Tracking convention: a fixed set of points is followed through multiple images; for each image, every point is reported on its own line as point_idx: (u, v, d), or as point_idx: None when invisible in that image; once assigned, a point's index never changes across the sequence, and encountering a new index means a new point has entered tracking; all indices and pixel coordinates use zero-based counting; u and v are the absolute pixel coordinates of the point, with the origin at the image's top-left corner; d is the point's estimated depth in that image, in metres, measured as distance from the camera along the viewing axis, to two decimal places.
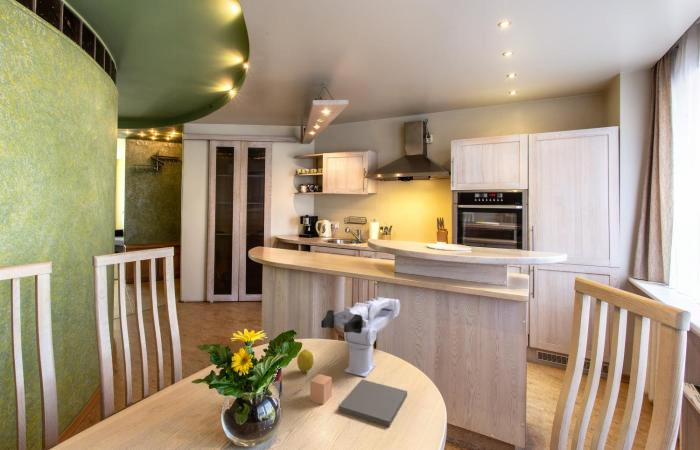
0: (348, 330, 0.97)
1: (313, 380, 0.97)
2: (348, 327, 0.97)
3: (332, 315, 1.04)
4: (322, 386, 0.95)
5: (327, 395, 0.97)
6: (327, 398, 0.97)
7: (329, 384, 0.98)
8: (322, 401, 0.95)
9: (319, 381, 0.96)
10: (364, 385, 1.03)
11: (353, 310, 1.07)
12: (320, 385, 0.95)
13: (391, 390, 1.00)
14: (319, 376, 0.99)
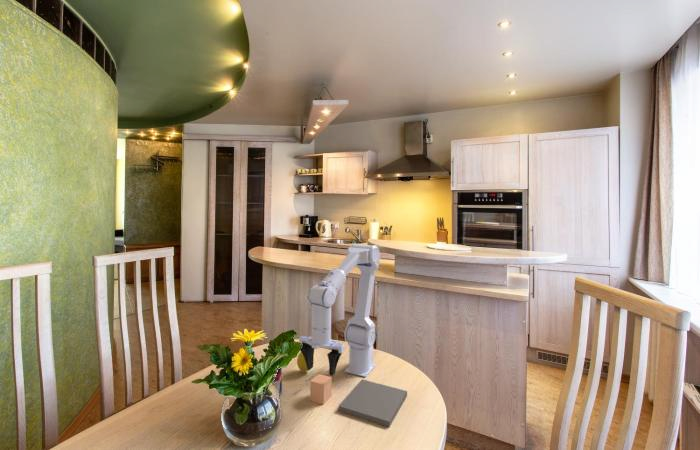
0: (335, 369, 0.96)
1: (313, 380, 0.97)
2: (333, 370, 0.95)
3: (307, 351, 0.98)
4: (322, 386, 0.95)
5: (327, 395, 0.97)
6: (327, 398, 0.97)
7: (329, 384, 0.98)
8: (322, 401, 0.95)
9: (319, 381, 0.96)
10: (364, 385, 1.03)
11: (319, 336, 0.94)
12: (320, 385, 0.95)
13: (391, 390, 1.00)
14: (319, 376, 0.99)
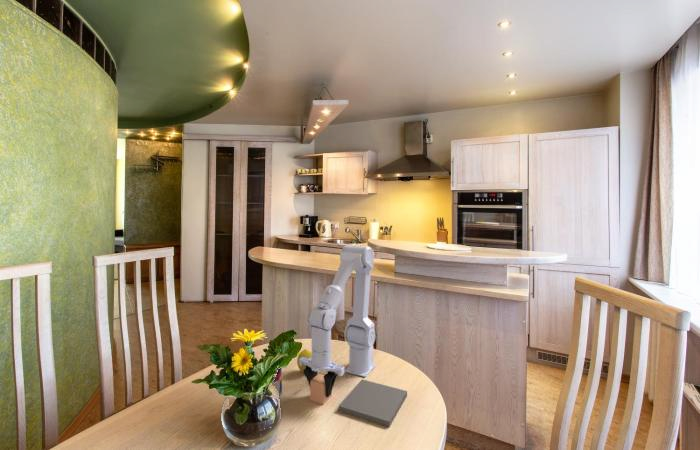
0: (331, 390, 0.97)
1: (313, 380, 0.97)
2: (329, 391, 0.96)
3: (311, 374, 0.97)
4: (322, 386, 0.95)
5: None
6: (327, 398, 0.97)
7: None
8: (322, 401, 0.95)
9: (319, 381, 0.96)
10: (364, 385, 1.03)
11: (319, 359, 0.95)
12: (320, 385, 0.95)
13: (391, 390, 1.00)
14: (319, 376, 0.99)
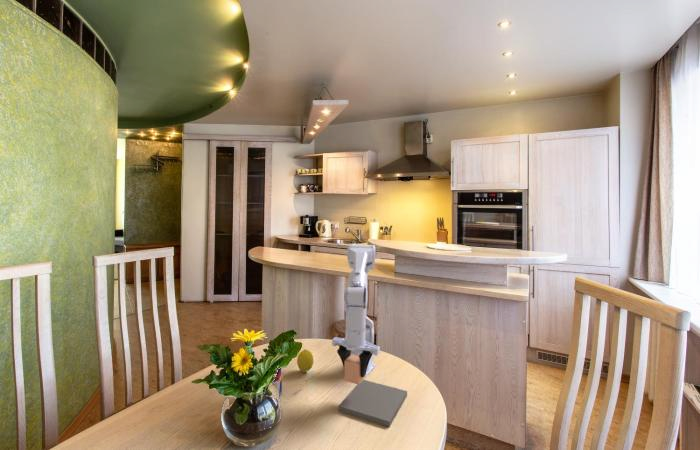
0: (365, 370, 0.96)
1: (347, 360, 0.95)
2: (364, 371, 0.95)
3: (345, 354, 0.96)
4: (357, 365, 0.93)
5: None
6: (361, 378, 0.95)
7: None
8: (357, 381, 0.93)
9: (353, 361, 0.95)
10: (364, 385, 1.03)
11: (354, 338, 0.93)
12: (355, 364, 0.93)
13: (391, 390, 1.00)
14: (353, 356, 0.98)
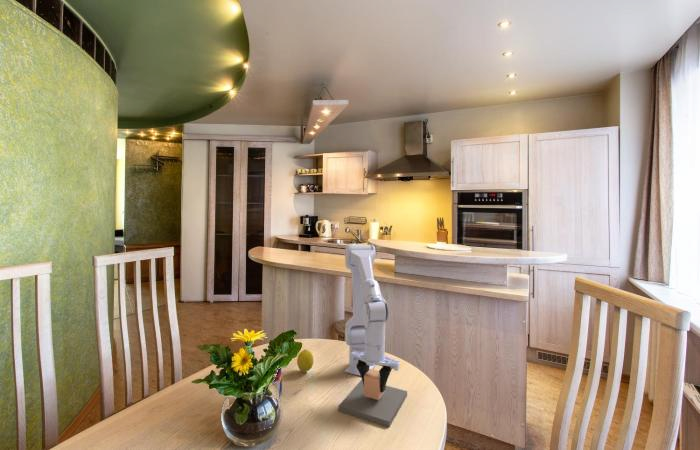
0: (385, 385, 0.95)
1: (367, 375, 0.95)
2: (384, 386, 0.94)
3: (364, 369, 0.95)
4: (377, 381, 0.93)
5: None
6: (381, 393, 0.95)
7: None
8: (377, 396, 0.93)
9: (373, 376, 0.94)
10: None
11: (374, 353, 0.92)
12: (375, 380, 0.93)
13: (391, 390, 1.00)
14: (372, 371, 0.97)
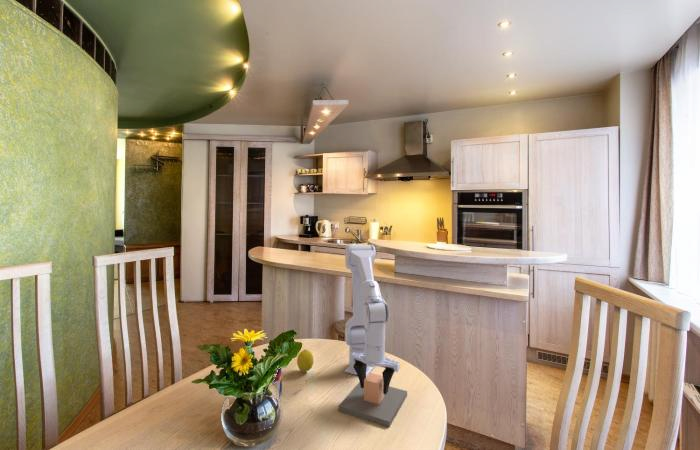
0: (388, 386, 0.95)
1: (367, 379, 0.95)
2: (387, 388, 0.94)
3: (361, 369, 0.96)
4: (377, 385, 0.93)
5: (381, 394, 0.95)
6: (381, 397, 0.95)
7: (382, 383, 0.95)
8: (377, 401, 0.93)
9: (373, 380, 0.94)
10: None
11: (374, 354, 0.92)
12: (375, 384, 0.93)
13: (391, 390, 1.00)
14: (371, 375, 0.97)
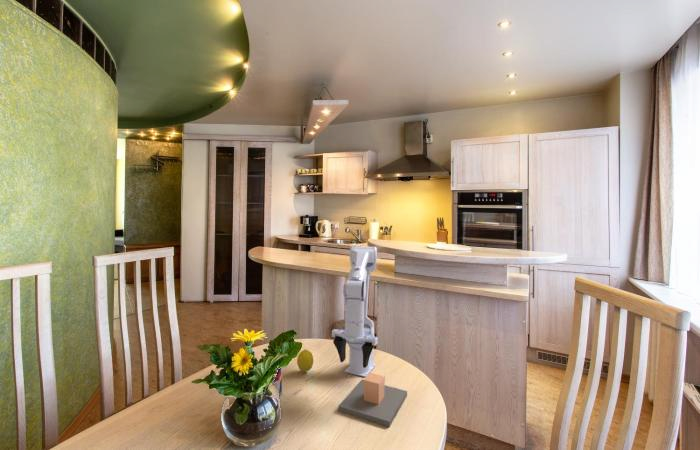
0: (368, 361, 0.99)
1: (367, 379, 0.95)
2: (366, 362, 0.98)
3: (341, 344, 1.00)
4: (377, 385, 0.93)
5: (381, 394, 0.95)
6: (381, 397, 0.95)
7: (382, 383, 0.95)
8: (377, 401, 0.93)
9: (373, 380, 0.94)
10: None
11: (353, 329, 0.97)
12: (375, 384, 0.93)
13: (391, 390, 1.00)
14: (371, 375, 0.97)
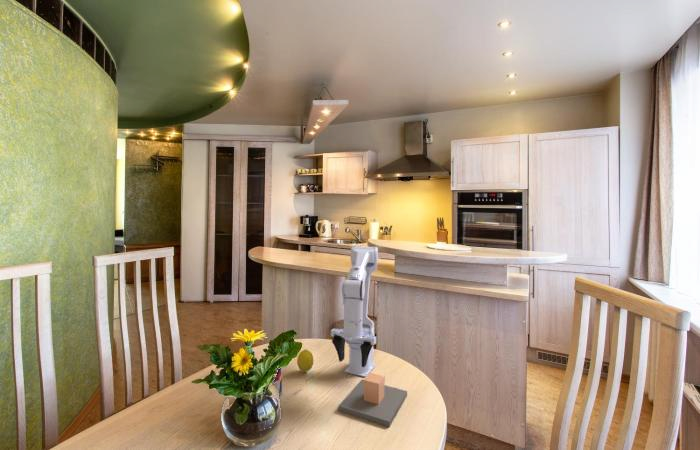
0: (366, 360, 1.00)
1: (367, 379, 0.95)
2: (365, 361, 0.99)
3: (339, 343, 1.01)
4: (377, 385, 0.93)
5: (381, 394, 0.95)
6: (381, 397, 0.95)
7: (382, 383, 0.95)
8: (377, 401, 0.93)
9: (373, 380, 0.94)
10: None
11: (352, 329, 0.97)
12: (375, 384, 0.93)
13: (391, 390, 1.00)
14: (371, 375, 0.97)
